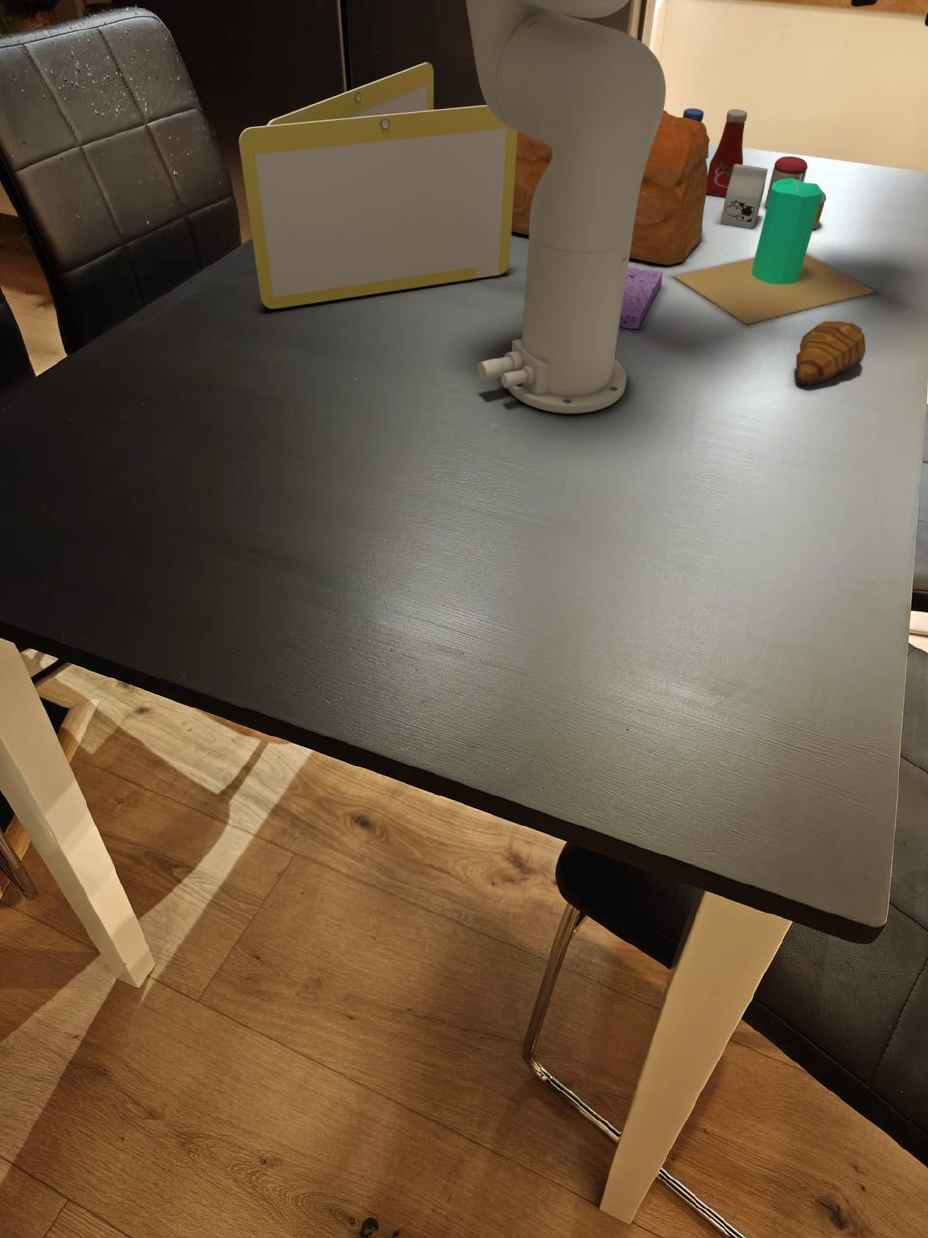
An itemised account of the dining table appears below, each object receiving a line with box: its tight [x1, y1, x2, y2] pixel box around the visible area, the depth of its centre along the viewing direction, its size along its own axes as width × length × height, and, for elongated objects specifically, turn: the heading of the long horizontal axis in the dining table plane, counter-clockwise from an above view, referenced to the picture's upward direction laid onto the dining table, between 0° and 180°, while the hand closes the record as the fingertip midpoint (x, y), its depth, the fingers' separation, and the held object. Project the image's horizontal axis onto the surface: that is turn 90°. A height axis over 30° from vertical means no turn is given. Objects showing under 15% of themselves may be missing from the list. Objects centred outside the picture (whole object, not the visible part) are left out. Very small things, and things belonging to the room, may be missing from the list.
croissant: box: [795, 320, 867, 386], centre depth 96 cm, size 14×7×5 cm, turn 141°
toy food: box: [663, 107, 827, 230], centre depth 126 cm, size 27×13×12 cm, turn 67°
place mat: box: [673, 253, 875, 326], centre depth 112 cm, size 20×14×1 cm
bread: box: [511, 112, 711, 266], centre depth 118 cm, size 14×27×15 cm, turn 63°
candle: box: [751, 173, 824, 285], centre depth 110 cm, size 6×6×12 cm
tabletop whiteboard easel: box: [238, 61, 517, 310], centre depth 105 cm, size 35×22×20 cm, turn 149°
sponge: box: [619, 266, 664, 330], centre depth 107 cm, size 7×13×2 cm, turn 159°
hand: (898, 14), depth 92 cm, fingers open, 9 cm apart
